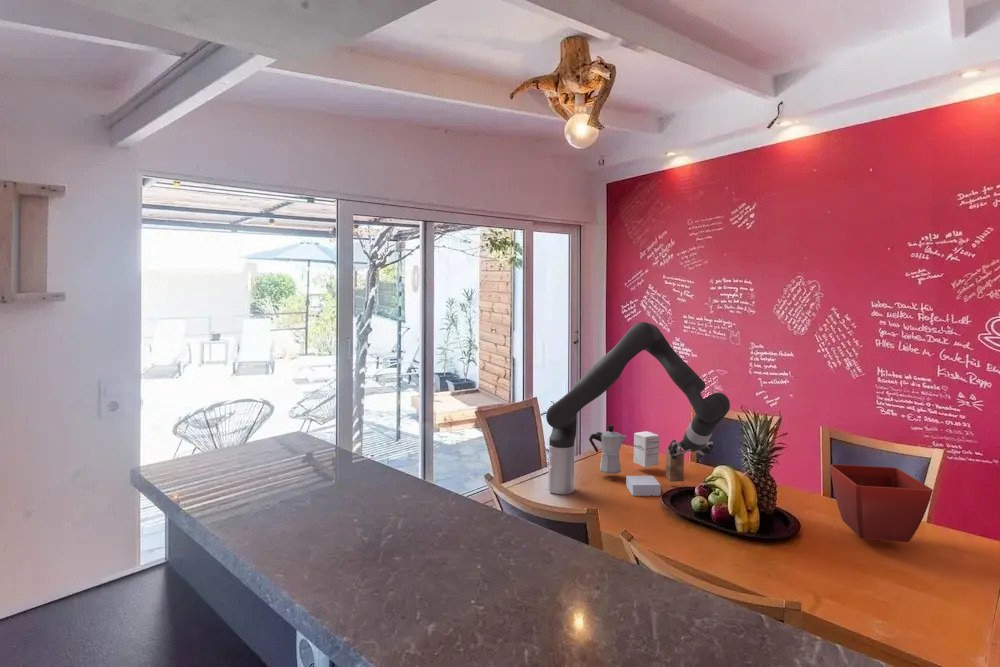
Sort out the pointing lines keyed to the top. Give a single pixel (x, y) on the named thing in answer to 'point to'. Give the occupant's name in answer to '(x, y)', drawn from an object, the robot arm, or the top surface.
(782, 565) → the top surface
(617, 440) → the coffee maker
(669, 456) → the walnut block
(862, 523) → the plant pot
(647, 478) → the stand
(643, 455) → the supplement box
